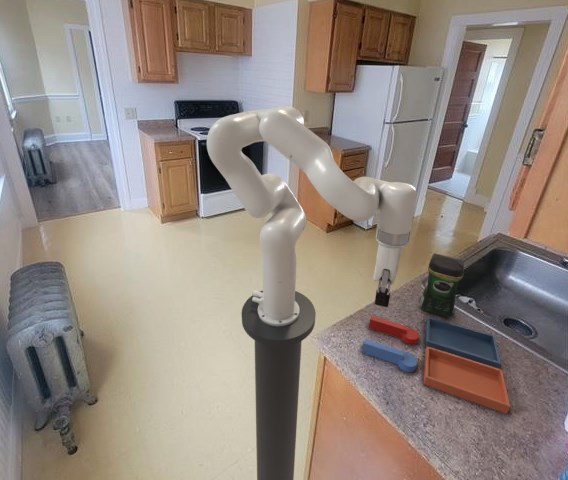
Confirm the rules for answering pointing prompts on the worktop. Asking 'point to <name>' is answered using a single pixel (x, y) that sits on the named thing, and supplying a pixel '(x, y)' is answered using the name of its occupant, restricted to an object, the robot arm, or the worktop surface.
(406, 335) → the red bar with disc
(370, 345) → the blue bar with disc
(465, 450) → the worktop surface
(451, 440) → the worktop surface
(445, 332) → the tray blue
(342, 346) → the worktop surface
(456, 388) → the tray orange
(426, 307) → the coffee jar
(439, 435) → the worktop surface
